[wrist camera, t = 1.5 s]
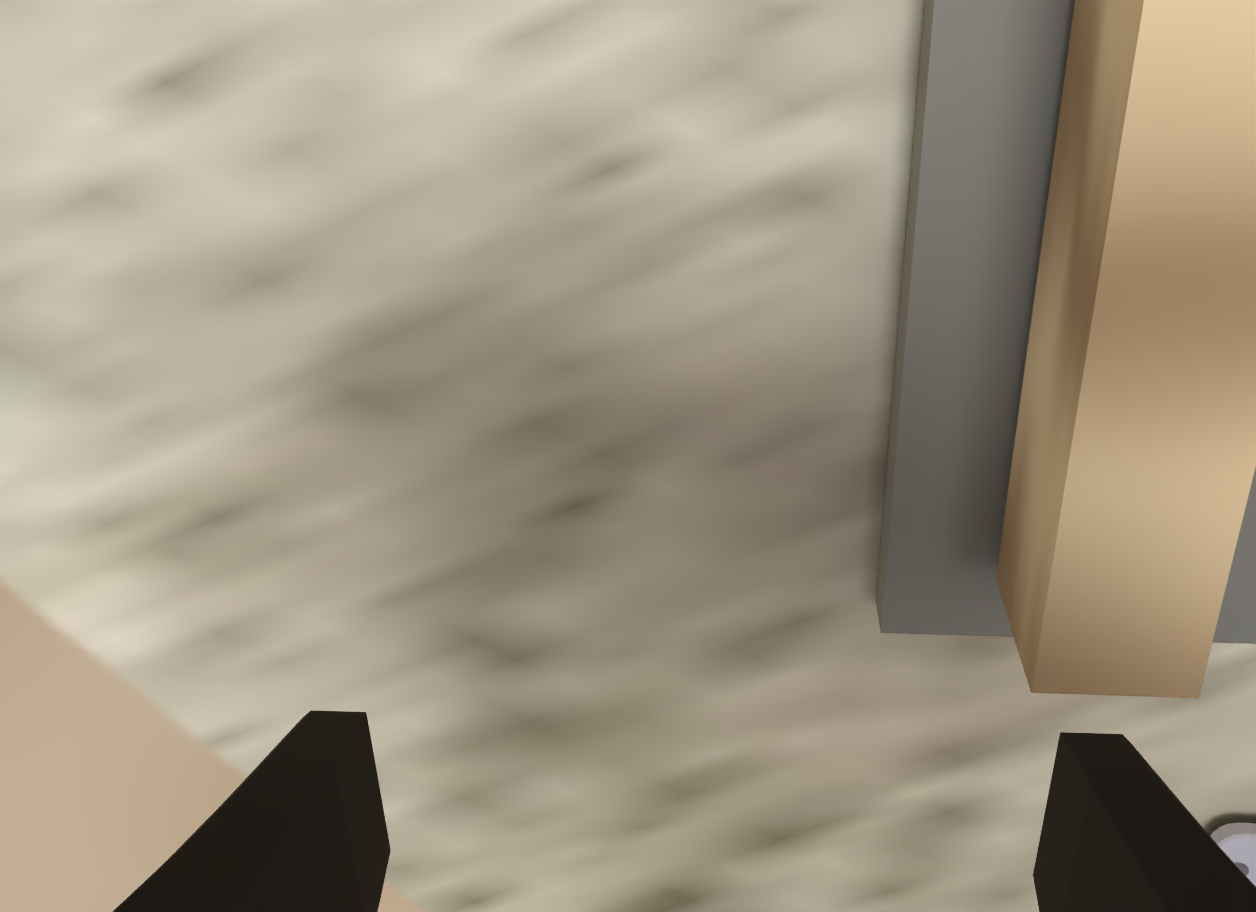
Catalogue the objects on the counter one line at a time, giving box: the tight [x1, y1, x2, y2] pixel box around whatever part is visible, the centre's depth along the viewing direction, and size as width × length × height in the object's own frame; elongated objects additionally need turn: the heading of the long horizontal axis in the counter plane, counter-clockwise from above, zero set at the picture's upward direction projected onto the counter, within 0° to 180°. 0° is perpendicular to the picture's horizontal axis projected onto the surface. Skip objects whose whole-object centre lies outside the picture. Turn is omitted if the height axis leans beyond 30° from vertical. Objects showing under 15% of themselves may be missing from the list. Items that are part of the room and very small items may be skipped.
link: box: [996, 0, 1256, 698], centre depth 15 cm, size 16×4×3 cm, turn 2°
